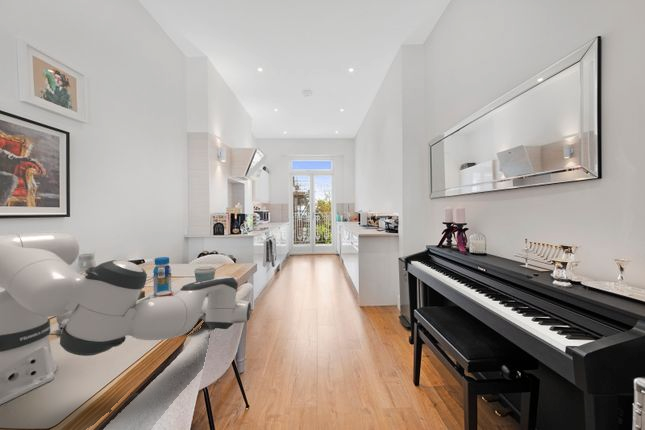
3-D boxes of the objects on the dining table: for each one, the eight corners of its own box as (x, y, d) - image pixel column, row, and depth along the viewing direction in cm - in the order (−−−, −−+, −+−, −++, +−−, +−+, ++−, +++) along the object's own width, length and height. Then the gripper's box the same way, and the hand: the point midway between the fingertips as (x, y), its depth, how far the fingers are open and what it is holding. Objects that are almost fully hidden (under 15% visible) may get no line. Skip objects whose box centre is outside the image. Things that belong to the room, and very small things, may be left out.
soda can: (165, 326, 107) (165, 295, 107) (150, 324, 109) (149, 294, 108) (178, 319, 114) (178, 290, 114) (163, 318, 116) (163, 289, 115)
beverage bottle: (149, 297, 143) (148, 259, 143) (163, 292, 151) (162, 256, 151) (162, 298, 141) (161, 259, 141) (175, 293, 149) (174, 256, 149)
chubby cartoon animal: (51, 345, 98) (46, 326, 95) (62, 321, 108) (58, 304, 105) (77, 340, 102) (73, 322, 99) (86, 317, 111) (82, 300, 108)
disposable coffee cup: (195, 293, 150) (195, 265, 150) (216, 291, 153) (216, 264, 153) (192, 299, 140) (192, 269, 140) (215, 296, 143) (215, 268, 143)
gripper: (196, 329, 99) (160, 328, 101) (223, 309, 119) (193, 308, 121) (196, 312, 99) (160, 310, 100) (223, 294, 119) (193, 293, 121)
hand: (178, 309), depth 111 cm, fingers closed
